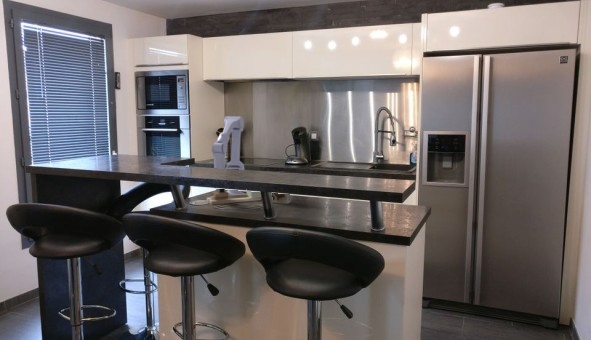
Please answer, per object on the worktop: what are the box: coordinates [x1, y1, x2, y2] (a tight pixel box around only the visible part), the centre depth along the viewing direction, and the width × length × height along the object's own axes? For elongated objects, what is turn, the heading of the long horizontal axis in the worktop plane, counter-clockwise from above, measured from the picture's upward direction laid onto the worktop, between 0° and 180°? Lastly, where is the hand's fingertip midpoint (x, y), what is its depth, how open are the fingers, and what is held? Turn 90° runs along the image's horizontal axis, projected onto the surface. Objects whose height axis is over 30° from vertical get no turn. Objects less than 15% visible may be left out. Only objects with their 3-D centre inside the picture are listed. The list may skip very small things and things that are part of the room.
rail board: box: [206, 192, 262, 205], centre depth 242 cm, size 10×30×3 cm, turn 115°
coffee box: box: [271, 170, 292, 205], centre depth 236 cm, size 9×6×16 cm
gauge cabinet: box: [246, 190, 261, 198], centre depth 246 cm, size 8×7×4 cm
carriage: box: [211, 189, 229, 200], centre depth 237 cm, size 6×7×7 cm
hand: (220, 191), depth 237 cm, fingers open, 7 cm apart
